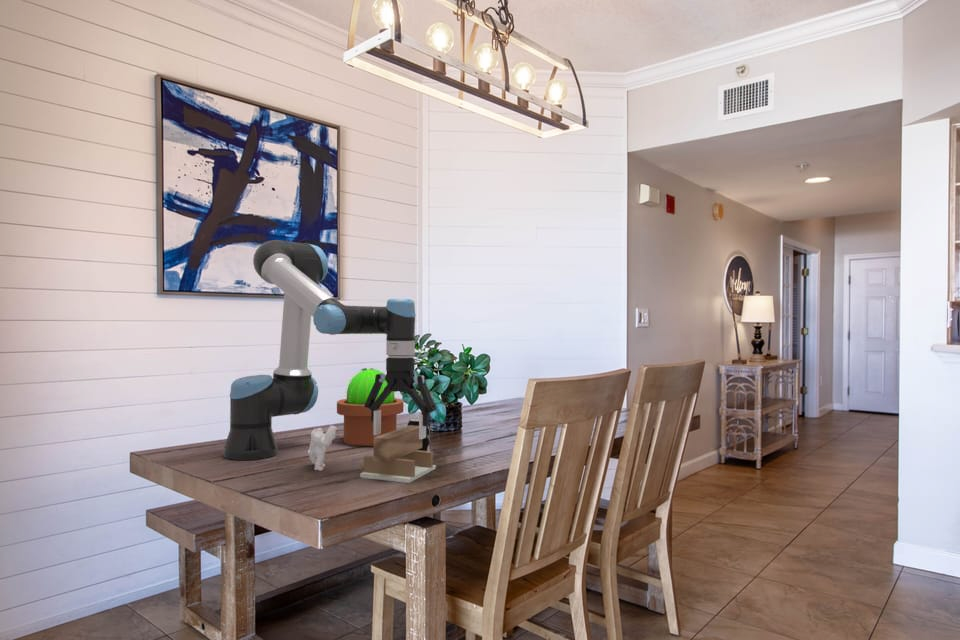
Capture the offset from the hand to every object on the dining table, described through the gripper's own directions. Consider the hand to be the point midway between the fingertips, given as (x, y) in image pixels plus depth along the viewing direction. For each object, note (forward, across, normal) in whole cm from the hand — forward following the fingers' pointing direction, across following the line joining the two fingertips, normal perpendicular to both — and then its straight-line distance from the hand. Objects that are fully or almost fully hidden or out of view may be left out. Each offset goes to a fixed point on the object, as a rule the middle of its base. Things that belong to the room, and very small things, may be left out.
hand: (399, 436), depth 162 cm
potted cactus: (+10, -29, +34) cm, 46 cm away
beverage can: (+10, -2, +15) cm, 18 cm away
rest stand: (+10, 0, 0) cm, 10 cm away
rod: (+5, 0, 0) cm, 5 cm away
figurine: (+10, -22, -3) cm, 25 cm away
